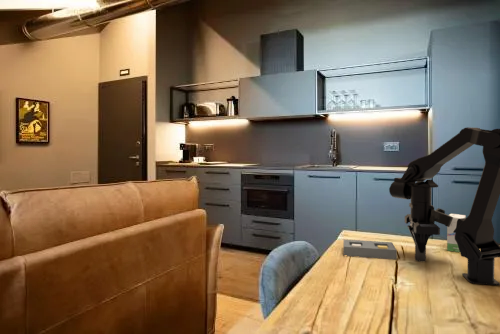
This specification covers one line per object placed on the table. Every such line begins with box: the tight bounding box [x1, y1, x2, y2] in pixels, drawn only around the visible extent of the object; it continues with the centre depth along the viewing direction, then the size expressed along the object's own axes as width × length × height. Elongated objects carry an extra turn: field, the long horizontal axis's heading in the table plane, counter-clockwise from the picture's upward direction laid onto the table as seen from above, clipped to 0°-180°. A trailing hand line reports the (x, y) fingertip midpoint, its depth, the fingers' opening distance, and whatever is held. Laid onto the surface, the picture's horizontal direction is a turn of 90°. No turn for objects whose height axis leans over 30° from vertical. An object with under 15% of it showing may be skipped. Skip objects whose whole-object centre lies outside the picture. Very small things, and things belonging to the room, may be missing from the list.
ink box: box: [446, 213, 467, 253], centre depth 116 cm, size 8×5×12 cm, turn 143°
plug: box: [414, 241, 427, 263], centre depth 103 cm, size 3×3×8 cm
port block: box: [343, 239, 398, 260], centre depth 111 cm, size 10×16×4 cm, turn 75°
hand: (420, 251), depth 103 cm, fingers closed on plug, 3 cm apart
